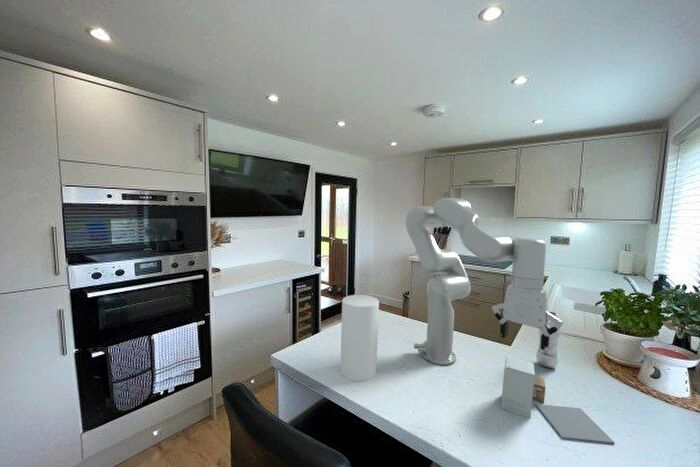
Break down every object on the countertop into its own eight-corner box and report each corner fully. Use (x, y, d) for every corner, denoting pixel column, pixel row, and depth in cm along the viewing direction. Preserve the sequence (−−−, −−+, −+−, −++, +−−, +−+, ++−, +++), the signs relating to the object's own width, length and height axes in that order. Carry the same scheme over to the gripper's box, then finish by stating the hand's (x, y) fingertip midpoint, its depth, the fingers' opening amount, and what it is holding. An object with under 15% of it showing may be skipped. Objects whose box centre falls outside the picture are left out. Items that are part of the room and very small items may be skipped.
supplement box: (531, 419, 77) (535, 375, 76) (500, 408, 81) (504, 366, 80) (530, 403, 83) (534, 362, 82) (502, 394, 87) (505, 355, 86)
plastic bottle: (561, 371, 101) (566, 317, 99) (540, 368, 102) (545, 315, 100) (552, 362, 107) (556, 311, 105) (532, 359, 108) (536, 309, 107)
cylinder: (353, 357, 106) (355, 292, 104) (382, 368, 99) (385, 299, 97) (332, 372, 96) (334, 300, 94) (363, 386, 89) (366, 309, 87)
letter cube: (524, 397, 86) (525, 381, 86) (524, 388, 91) (525, 373, 90) (544, 403, 83) (545, 387, 83) (543, 394, 88) (544, 378, 87)
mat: (562, 438, 70) (562, 436, 70) (535, 405, 82) (536, 404, 82) (614, 444, 69) (614, 442, 69) (580, 409, 81) (580, 408, 81)
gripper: (489, 279, 82) (486, 336, 83) (562, 291, 70) (557, 358, 71) (498, 275, 87) (495, 329, 89) (568, 286, 75) (563, 349, 76)
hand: (523, 342), depth 80 cm, fingers open, 9 cm apart
